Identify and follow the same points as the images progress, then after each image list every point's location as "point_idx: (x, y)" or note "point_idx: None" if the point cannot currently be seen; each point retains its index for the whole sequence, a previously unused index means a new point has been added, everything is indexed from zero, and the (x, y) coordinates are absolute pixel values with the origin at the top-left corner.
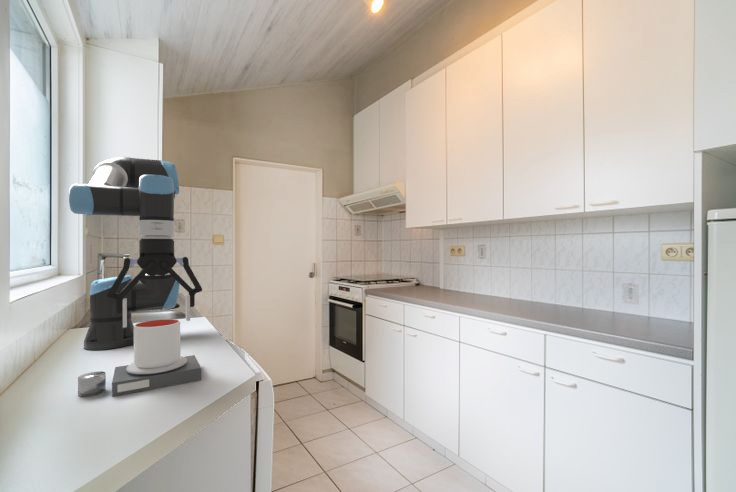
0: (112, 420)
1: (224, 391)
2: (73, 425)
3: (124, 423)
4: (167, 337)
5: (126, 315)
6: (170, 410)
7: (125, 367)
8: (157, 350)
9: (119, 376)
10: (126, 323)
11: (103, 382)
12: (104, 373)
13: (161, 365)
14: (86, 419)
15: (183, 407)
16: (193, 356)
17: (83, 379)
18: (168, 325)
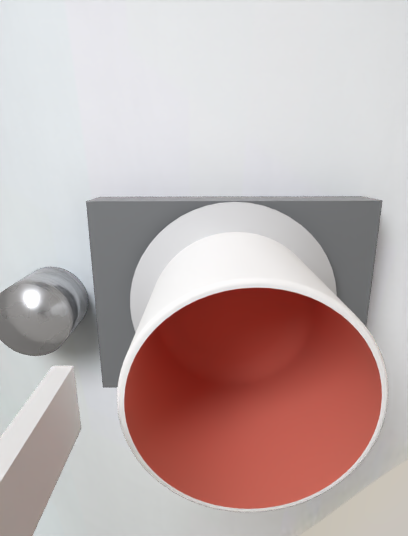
0: (132, 502)
1: (368, 476)
2: (64, 487)
3: (156, 525)
4: (280, 452)
5: (50, 491)
6: (239, 513)
7: (123, 231)
8: (232, 419)
9: (116, 335)
10: (72, 447)
11: (75, 326)
12: (66, 324)
13: (241, 375)
14: (82, 472)
15: (265, 513)
16: (373, 222)
17: (15, 349)
18: (300, 502)
